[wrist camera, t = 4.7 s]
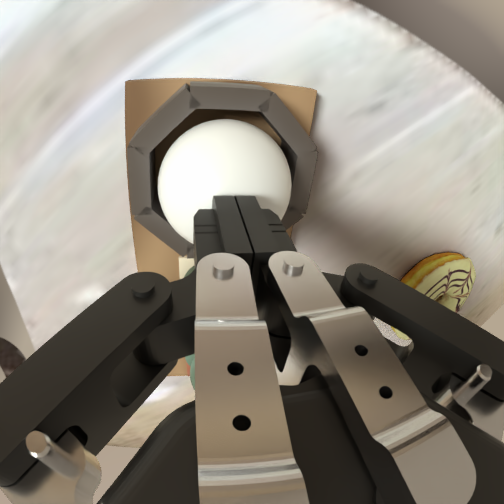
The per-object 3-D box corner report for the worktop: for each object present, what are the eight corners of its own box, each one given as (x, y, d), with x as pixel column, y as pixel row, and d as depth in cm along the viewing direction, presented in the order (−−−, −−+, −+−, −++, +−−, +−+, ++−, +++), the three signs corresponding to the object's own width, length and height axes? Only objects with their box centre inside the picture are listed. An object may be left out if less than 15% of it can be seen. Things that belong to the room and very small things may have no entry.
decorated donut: (450, 298, 32) (467, 319, 29) (379, 332, 32) (393, 358, 29) (467, 231, 26) (490, 253, 23) (384, 267, 26) (406, 295, 23)
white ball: (279, 112, 15) (324, 145, 10) (265, 211, 19) (295, 276, 14) (162, 108, 14) (149, 138, 9) (163, 212, 17) (157, 281, 12)
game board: (310, 88, 16) (339, 98, 13) (258, 361, 30) (267, 393, 27) (128, 80, 13) (112, 87, 10) (158, 367, 28) (159, 401, 25)
